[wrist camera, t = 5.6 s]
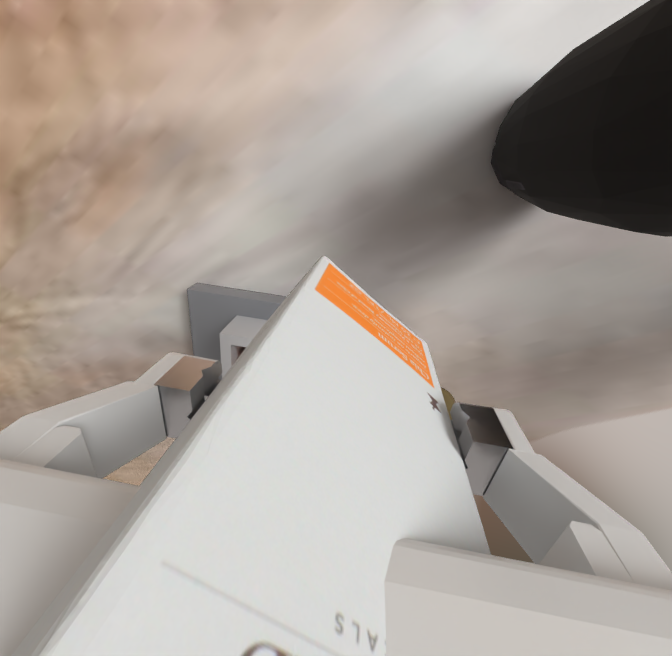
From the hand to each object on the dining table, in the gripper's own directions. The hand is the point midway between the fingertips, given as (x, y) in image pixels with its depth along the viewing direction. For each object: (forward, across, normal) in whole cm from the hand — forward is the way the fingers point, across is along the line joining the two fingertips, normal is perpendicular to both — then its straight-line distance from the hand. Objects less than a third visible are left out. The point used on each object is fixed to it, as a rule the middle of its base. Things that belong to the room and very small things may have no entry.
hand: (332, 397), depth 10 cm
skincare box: (+5, 0, 0) cm, 5 cm away
